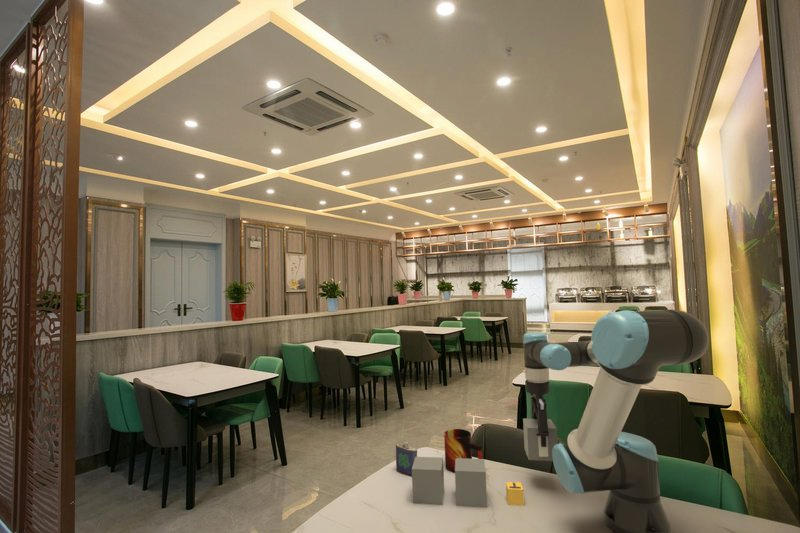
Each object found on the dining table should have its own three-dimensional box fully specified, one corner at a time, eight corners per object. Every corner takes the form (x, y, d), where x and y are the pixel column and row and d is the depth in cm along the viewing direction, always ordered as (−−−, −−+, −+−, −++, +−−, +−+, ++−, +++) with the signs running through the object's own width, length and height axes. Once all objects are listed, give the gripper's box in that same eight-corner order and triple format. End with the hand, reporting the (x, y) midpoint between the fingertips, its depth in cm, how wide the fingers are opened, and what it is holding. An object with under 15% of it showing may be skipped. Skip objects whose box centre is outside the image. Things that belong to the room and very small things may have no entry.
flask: (419, 475, 136) (418, 443, 137) (414, 478, 134) (412, 446, 135) (399, 468, 142) (398, 437, 143) (393, 471, 140) (392, 440, 140)
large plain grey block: (444, 489, 125) (443, 457, 126) (442, 504, 116) (441, 470, 117) (416, 488, 127) (415, 456, 127) (412, 503, 118) (411, 468, 119)
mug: (482, 476, 134) (481, 440, 134) (443, 472, 138) (441, 437, 139) (485, 464, 143) (483, 430, 144) (448, 460, 147) (446, 428, 148)
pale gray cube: (485, 491, 123) (484, 459, 124) (487, 507, 114) (485, 472, 115) (456, 490, 125) (455, 458, 125) (456, 505, 116) (454, 470, 116)
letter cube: (521, 497, 119) (521, 481, 120) (524, 505, 115) (523, 489, 115) (506, 496, 120) (505, 481, 120) (508, 504, 115) (507, 488, 116)
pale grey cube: (552, 449, 131) (550, 419, 132) (558, 461, 122) (556, 428, 123) (524, 448, 133) (523, 418, 133) (528, 459, 124) (527, 427, 124)
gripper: (520, 373, 140) (523, 437, 139) (530, 388, 119) (534, 464, 117) (542, 373, 139) (545, 437, 138) (556, 388, 118) (560, 465, 116)
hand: (540, 449), depth 127 cm, fingers closed on pale grey cube, 9 cm apart
